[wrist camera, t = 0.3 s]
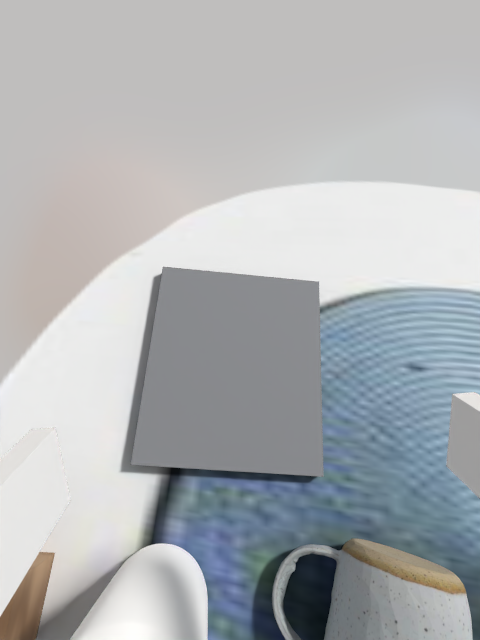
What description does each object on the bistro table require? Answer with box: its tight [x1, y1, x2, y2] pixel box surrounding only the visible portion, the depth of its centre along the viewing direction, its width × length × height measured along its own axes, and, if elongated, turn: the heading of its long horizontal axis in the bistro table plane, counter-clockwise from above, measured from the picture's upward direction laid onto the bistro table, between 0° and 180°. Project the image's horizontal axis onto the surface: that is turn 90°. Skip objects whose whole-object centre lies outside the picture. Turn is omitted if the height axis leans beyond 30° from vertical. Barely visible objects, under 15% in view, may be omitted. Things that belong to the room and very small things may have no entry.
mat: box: [131, 267, 323, 477], centre depth 27 cm, size 16×14×1 cm
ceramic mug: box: [272, 539, 472, 640], centre depth 19 cm, size 11×8×8 cm
